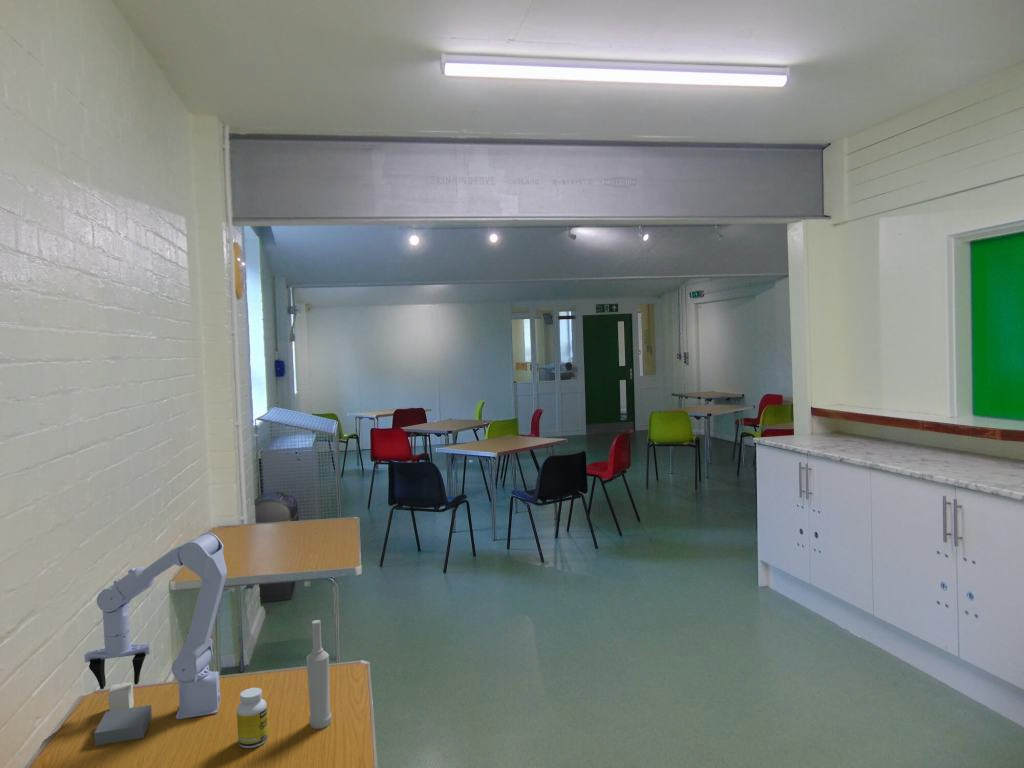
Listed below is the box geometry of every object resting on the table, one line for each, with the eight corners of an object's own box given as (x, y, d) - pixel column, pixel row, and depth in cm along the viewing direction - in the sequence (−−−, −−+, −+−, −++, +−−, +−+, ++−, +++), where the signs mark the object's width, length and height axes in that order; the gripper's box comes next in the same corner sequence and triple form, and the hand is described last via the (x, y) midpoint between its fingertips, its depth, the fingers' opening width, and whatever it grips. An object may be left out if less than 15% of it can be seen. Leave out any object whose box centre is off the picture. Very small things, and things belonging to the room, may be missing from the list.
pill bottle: (258, 750, 160) (256, 700, 159) (232, 748, 161) (229, 698, 161) (273, 735, 166) (271, 686, 166) (248, 732, 168) (246, 684, 167)
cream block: (133, 704, 182) (132, 681, 182) (129, 713, 178) (128, 690, 178) (114, 707, 181) (112, 684, 181) (109, 716, 177) (108, 693, 176)
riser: (151, 716, 176) (151, 704, 176) (143, 737, 166) (142, 725, 166) (106, 723, 173) (105, 711, 173) (95, 745, 164) (94, 733, 164)
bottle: (336, 722, 171) (331, 621, 169) (317, 731, 167) (312, 627, 166) (324, 715, 174) (319, 615, 173) (305, 724, 171) (300, 622, 169)
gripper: (152, 622, 184) (154, 673, 185) (89, 629, 180) (92, 682, 181) (146, 633, 177) (149, 686, 178) (80, 641, 173) (83, 695, 174)
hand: (120, 685), depth 179 cm, fingers open, 7 cm apart
